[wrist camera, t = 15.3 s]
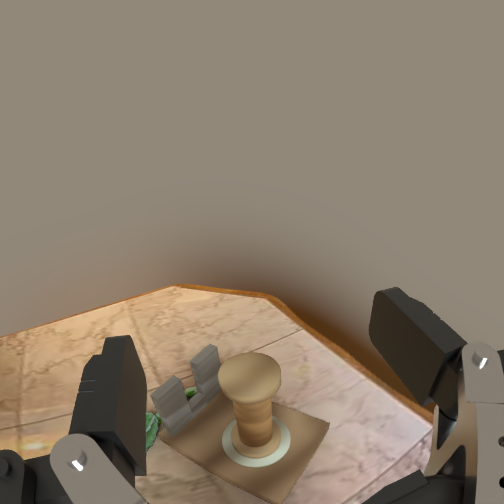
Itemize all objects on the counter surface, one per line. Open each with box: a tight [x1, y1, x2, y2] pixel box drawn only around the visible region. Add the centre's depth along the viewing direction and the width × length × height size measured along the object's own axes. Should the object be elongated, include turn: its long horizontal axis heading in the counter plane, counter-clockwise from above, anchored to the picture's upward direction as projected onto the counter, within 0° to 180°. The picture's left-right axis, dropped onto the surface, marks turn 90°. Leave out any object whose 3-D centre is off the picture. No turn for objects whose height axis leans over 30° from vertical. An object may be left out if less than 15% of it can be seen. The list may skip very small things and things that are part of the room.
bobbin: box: [218, 352, 281, 459], centre depth 31 cm, size 6×6×12 cm
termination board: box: [150, 344, 330, 504], centre depth 34 cm, size 18×13×10 cm
